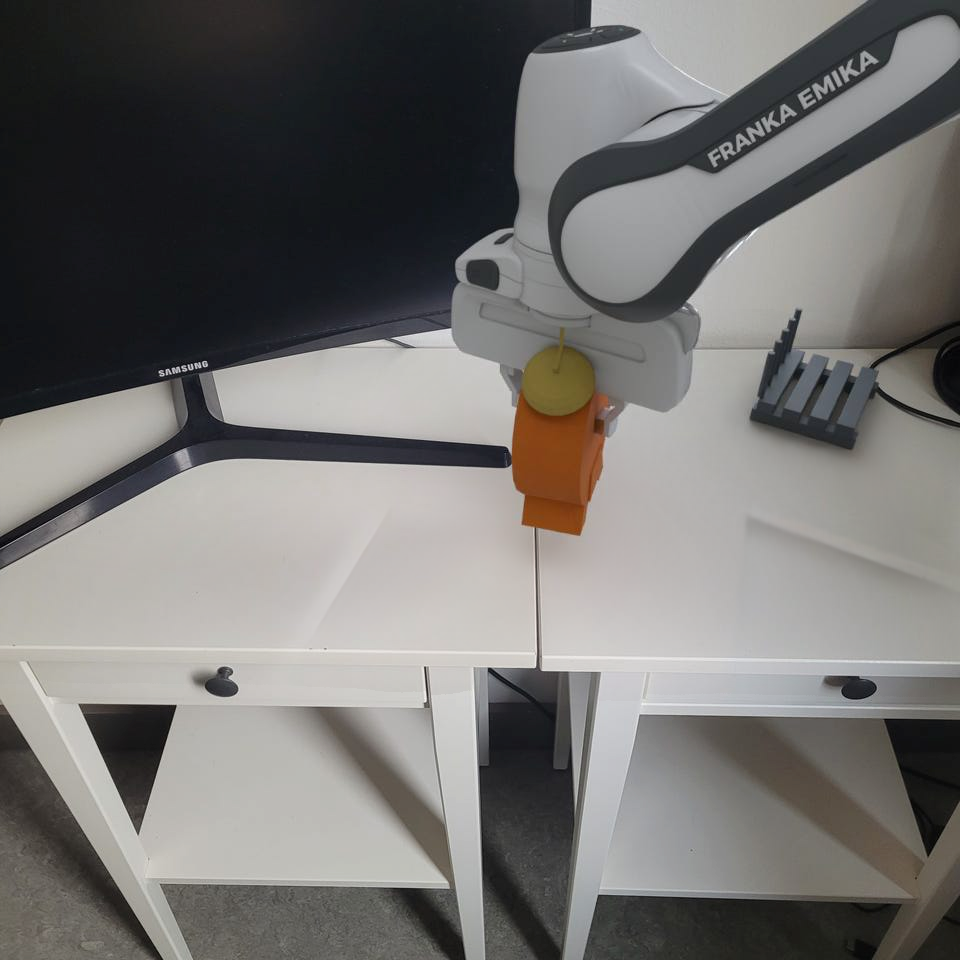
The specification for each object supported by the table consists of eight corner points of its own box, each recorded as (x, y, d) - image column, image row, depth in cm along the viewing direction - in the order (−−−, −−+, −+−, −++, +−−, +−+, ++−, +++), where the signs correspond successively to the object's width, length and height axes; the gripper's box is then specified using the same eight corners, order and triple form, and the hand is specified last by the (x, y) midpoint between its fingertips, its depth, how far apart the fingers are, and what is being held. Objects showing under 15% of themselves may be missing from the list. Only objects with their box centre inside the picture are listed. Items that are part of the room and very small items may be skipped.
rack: (876, 391, 103) (899, 328, 97) (851, 450, 94) (875, 385, 88) (780, 366, 108) (797, 304, 102) (748, 419, 98) (764, 355, 93)
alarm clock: (547, 447, 81) (551, 258, 69) (608, 457, 80) (624, 265, 67) (509, 535, 72) (507, 333, 59) (578, 549, 70) (591, 344, 57)
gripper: (719, 282, 59) (691, 435, 68) (479, 228, 68) (481, 370, 76) (689, 319, 55) (663, 477, 64) (437, 256, 63) (445, 403, 72)
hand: (562, 418), depth 70 cm, fingers closed on alarm clock, 6 cm apart
